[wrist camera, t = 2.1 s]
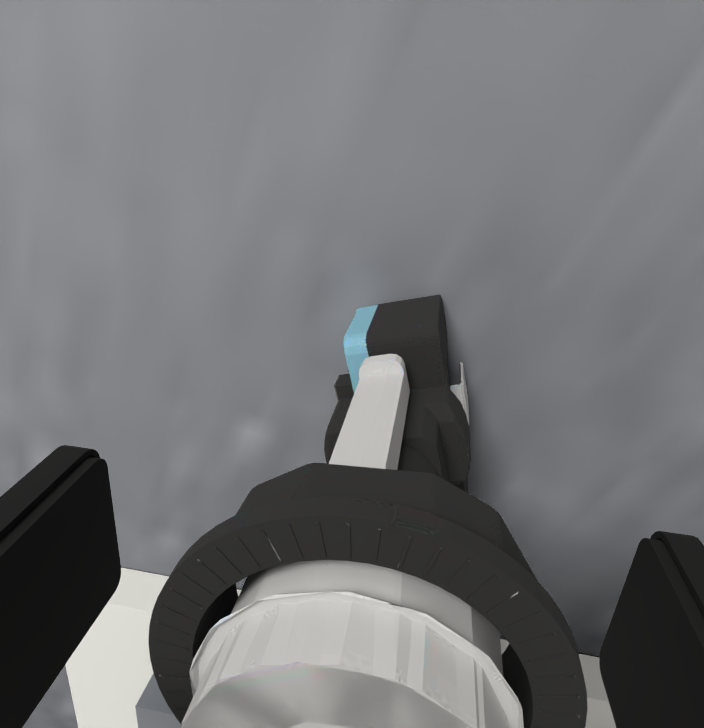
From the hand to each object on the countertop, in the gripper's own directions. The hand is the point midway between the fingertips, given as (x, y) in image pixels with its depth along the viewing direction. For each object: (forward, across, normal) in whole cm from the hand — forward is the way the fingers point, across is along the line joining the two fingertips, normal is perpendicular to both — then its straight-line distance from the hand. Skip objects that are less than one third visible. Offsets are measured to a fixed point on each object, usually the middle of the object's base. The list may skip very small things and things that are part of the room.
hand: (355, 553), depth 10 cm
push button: (+6, -1, 0) cm, 6 cm away
